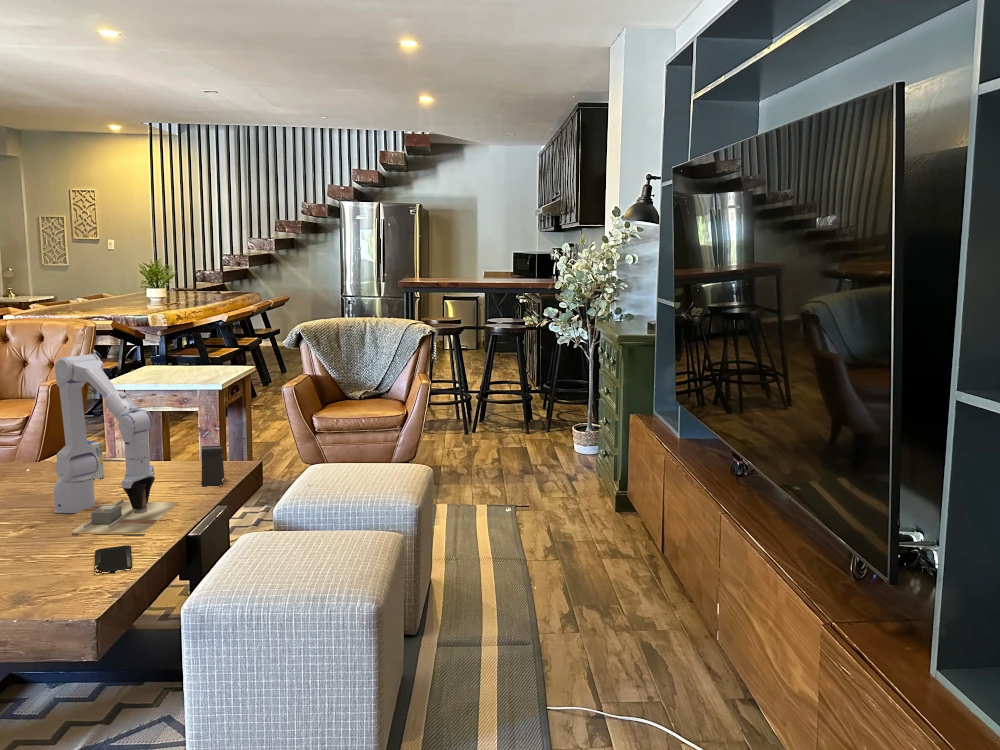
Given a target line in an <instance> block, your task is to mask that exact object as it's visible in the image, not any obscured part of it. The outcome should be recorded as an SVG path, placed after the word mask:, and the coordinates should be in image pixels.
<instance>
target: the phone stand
mask: <svg viewBox="0 0 1000 750" xmlns="http://www.w3.org/2000/svg"><path fill="white" fill-rule="evenodd" d="M223 449H224V448H223V445H207V446H205V445H204V446H201V450H200V451H201V488H208V487H207V486H220V485H222V484H224V482H222V479H223V478H224V479H225V467H224V465H225V464H224V456H223V455H224V453H223V451H224V450H223Z"/></svg>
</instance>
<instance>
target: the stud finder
mask: <svg viewBox="0 0 1000 750" xmlns="http://www.w3.org/2000/svg"><path fill="white" fill-rule="evenodd" d="M90 514H91V515H90V517H91V518H92V524H111V523H113V522H114V521H116V520H117V519H118V518H120V517H121V516H122V511H121V506H110V505H101V506H99V507H98V508H97V509H95V510H93V511H92V512H90Z"/></svg>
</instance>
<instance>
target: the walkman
mask: <svg viewBox="0 0 1000 750" xmlns="http://www.w3.org/2000/svg"><path fill="white" fill-rule="evenodd" d="M87 444H89V445H91V446H93V447H94V448H96V453H97V456H98V458H99V461H100V468H99V470H98V472H97V473H96V476H95V477H93V479H99V478H103V477H104V478H105V471H104V458H103V457H104V456H103V446H102V444H103V443H102V442H99V441H93V440H87ZM104 478H103V479H104ZM99 480H100V479H99Z"/></svg>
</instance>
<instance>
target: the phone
mask: <svg viewBox="0 0 1000 750" xmlns="http://www.w3.org/2000/svg"><path fill="white" fill-rule="evenodd" d="M94 558H95V560H94V569H93V573H94V572H96V573H102V572H109V571H114V572H115V571H117V570H125V569H131V568H132V569H133V561H132V560H133V558H132V546H131V545H130V544H129V545H128V544H125V545H118V546H112V547H111V546H110V547H105V548H97V549H96V550H94ZM97 565H98V566H97ZM95 566H97V567H96V568H95ZM96 569H97V570H99V571H98V572H97V571H95V570H96ZM100 571H101V572H100Z"/></svg>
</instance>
